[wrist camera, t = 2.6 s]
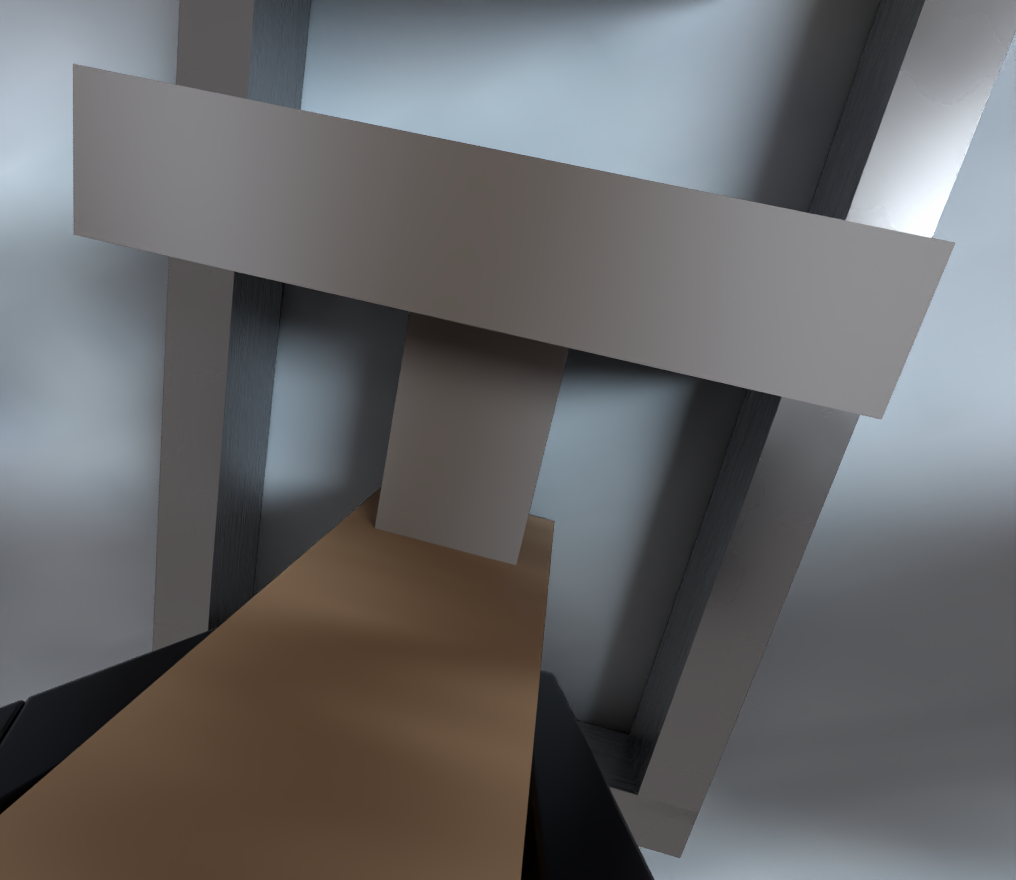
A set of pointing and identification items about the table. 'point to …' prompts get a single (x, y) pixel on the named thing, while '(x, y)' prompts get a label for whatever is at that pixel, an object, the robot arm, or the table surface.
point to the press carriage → (422, 470)
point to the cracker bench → (753, 446)
